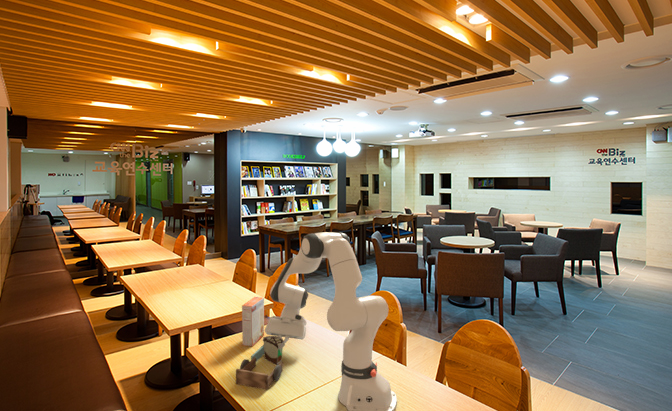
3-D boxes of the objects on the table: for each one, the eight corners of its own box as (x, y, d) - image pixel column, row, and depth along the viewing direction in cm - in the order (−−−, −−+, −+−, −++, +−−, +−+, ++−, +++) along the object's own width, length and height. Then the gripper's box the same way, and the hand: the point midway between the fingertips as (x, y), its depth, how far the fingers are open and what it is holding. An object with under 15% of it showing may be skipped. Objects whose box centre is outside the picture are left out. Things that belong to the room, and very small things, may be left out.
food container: (289, 362, 165) (289, 341, 164) (279, 367, 160) (279, 345, 160) (273, 353, 173) (273, 333, 172) (262, 357, 169) (262, 336, 168)
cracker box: (254, 334, 194) (254, 296, 193) (264, 335, 193) (264, 297, 191) (241, 345, 180) (241, 304, 179) (252, 347, 179) (252, 306, 178)
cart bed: (285, 371, 157) (285, 358, 156) (269, 390, 142) (269, 376, 142) (251, 365, 161) (251, 352, 161) (233, 383, 147) (233, 369, 146)
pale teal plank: (265, 350, 175) (265, 342, 175) (267, 351, 175) (267, 343, 175) (251, 364, 162) (251, 356, 162) (253, 365, 162) (253, 356, 161)
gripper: (268, 312, 180) (258, 339, 172) (306, 317, 175) (298, 345, 166) (272, 318, 185) (263, 344, 176) (309, 323, 179) (302, 350, 171)
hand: (280, 345), depth 171 cm, fingers closed
